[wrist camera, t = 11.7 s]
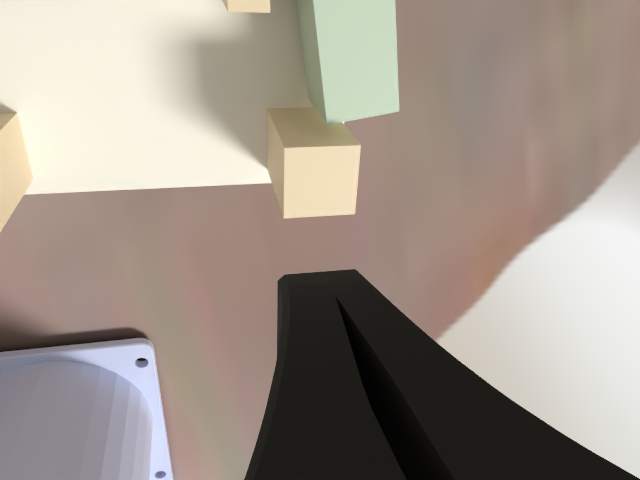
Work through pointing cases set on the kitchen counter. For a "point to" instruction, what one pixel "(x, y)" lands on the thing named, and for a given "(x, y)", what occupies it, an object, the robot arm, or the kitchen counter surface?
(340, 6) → the hinged leg
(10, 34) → the stool seat
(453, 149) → the kitchen counter surface
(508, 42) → the kitchen counter surface
